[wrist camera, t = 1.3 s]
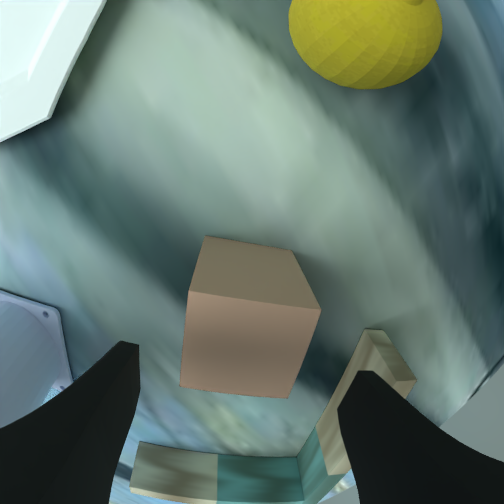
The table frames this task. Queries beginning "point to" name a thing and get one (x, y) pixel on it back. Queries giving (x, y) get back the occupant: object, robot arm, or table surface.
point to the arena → (270, 468)
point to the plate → (39, 56)
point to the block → (246, 320)
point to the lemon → (365, 39)
